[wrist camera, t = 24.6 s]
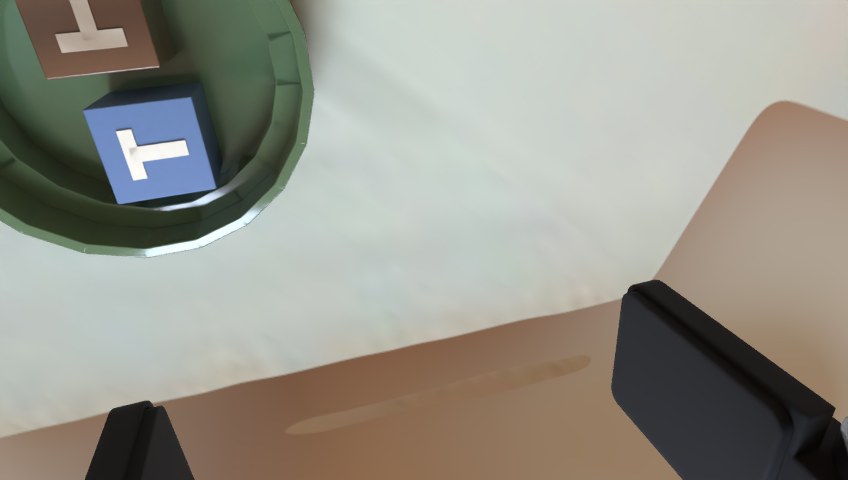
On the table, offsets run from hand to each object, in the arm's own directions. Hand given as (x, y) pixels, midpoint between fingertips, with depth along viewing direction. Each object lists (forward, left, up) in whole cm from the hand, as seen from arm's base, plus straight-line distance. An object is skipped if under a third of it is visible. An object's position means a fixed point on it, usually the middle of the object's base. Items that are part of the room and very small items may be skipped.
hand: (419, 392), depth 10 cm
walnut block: (-7, -9, -26) cm, 28 cm away
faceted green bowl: (-4, -9, -26) cm, 28 cm away
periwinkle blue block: (0, -8, -26) cm, 27 cm away
